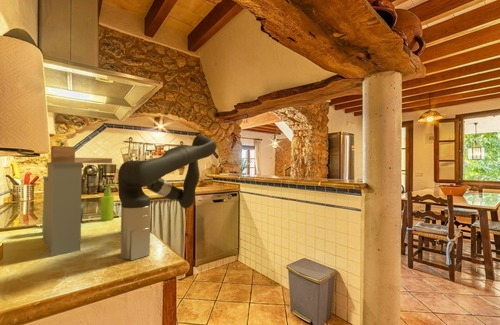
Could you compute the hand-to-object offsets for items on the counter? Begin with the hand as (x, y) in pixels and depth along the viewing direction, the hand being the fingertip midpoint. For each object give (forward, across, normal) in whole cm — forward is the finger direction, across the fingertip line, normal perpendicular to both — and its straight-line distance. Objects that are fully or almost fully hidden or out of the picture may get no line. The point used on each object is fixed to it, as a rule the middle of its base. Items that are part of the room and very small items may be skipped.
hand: (129, 170), depth 102 cm
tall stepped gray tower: (+6, -6, +36) cm, 37 cm away
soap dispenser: (-16, -35, +25) cm, 45 cm away
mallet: (+16, 0, +5) cm, 17 cm away
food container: (-3, -39, +32) cm, 50 cm away
